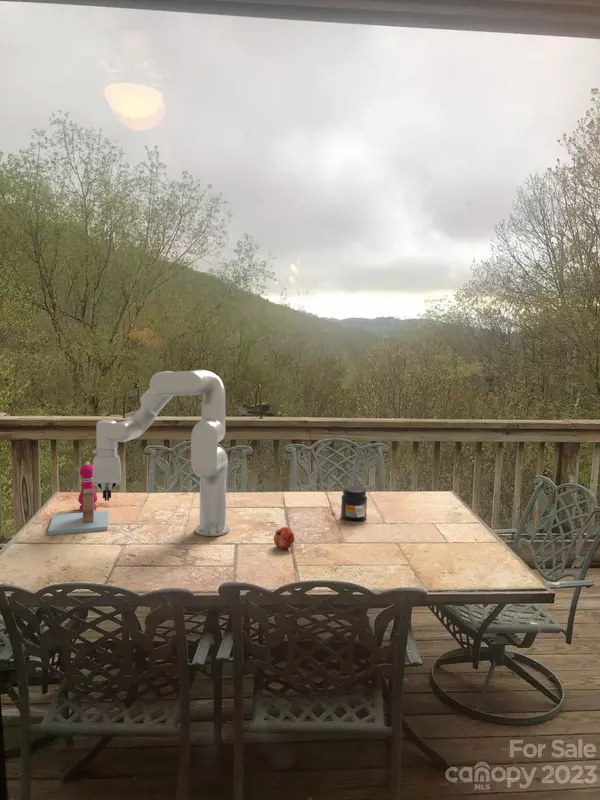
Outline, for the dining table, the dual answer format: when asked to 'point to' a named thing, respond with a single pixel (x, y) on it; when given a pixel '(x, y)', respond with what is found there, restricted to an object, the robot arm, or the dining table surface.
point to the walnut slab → (88, 505)
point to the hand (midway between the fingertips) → (106, 499)
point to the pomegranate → (284, 538)
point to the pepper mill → (86, 482)
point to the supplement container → (354, 503)
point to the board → (77, 523)
